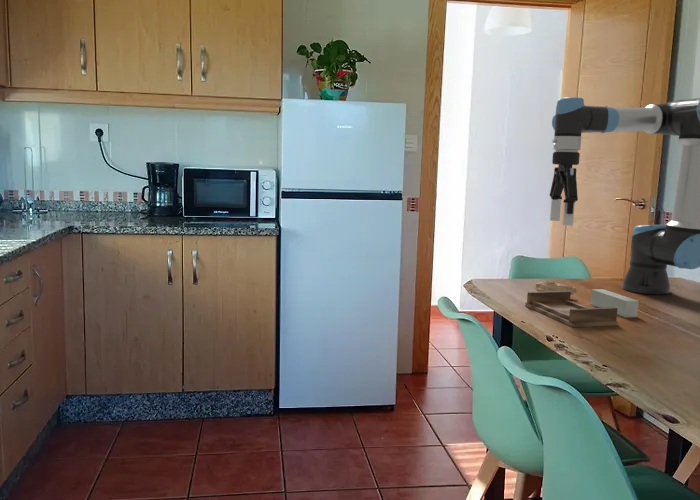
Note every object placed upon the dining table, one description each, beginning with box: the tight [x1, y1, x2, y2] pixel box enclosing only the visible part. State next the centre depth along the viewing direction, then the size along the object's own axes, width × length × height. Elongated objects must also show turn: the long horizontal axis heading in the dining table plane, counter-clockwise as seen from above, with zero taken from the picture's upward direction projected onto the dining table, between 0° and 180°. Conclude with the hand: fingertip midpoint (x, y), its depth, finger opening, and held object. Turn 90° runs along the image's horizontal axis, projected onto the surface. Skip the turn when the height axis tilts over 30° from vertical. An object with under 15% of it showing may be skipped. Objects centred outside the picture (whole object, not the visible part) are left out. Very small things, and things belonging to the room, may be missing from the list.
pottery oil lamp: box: [534, 280, 577, 296], centre depth 199 cm, size 9×12×7 cm
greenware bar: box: [590, 288, 639, 318], centre depth 183 cm, size 4×16×5 cm, turn 15°
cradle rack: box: [524, 291, 619, 328], centre depth 176 cm, size 24×14×4 cm, turn 15°
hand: (560, 222), depth 185 cm, fingers open, 13 cm apart
